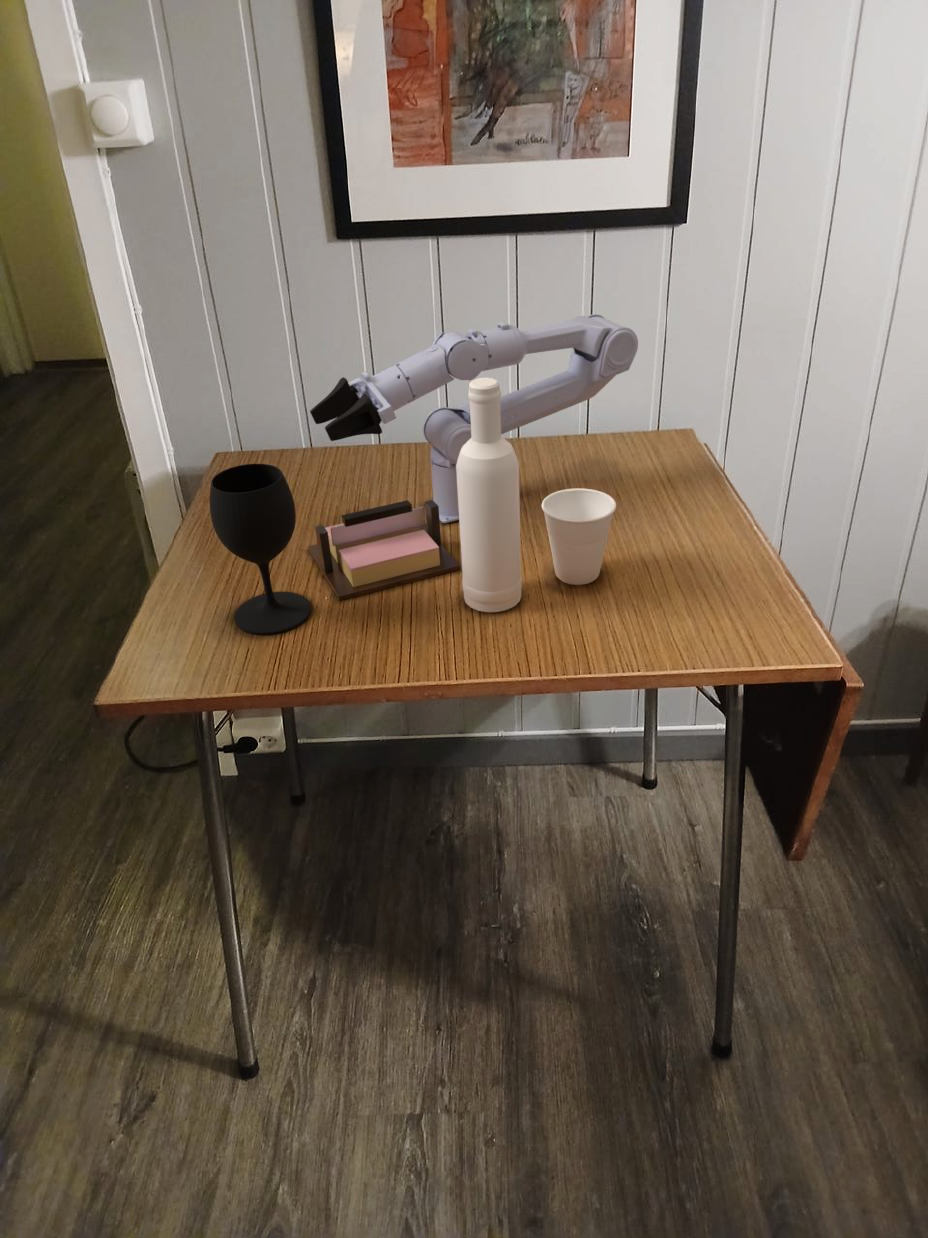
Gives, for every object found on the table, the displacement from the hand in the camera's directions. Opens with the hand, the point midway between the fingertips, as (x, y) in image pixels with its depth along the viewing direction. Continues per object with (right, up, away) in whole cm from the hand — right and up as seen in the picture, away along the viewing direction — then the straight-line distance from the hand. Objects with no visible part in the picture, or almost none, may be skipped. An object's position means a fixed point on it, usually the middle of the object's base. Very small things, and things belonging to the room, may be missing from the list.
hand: (320, 425), depth 132 cm
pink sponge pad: (+9, -19, +4) cm, 21 cm away
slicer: (+9, -19, +4) cm, 21 cm away
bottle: (+24, -25, -6) cm, 35 cm away
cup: (+36, -22, -3) cm, 42 cm away
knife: (+8, -15, +1) cm, 18 cm away
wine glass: (-5, -27, -7) cm, 28 cm away
